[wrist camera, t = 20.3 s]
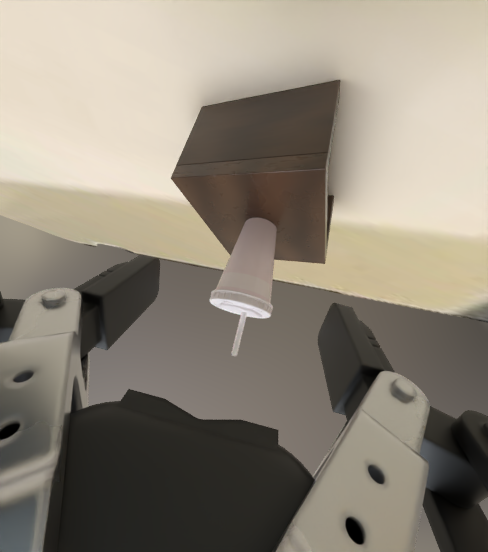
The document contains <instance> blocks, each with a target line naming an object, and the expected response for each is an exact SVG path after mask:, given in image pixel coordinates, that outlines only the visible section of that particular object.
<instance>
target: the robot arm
mask: <svg viewBox="0 0 488 552" xmlns="http://www.w3.org/2000/svg"><path fill="white" fill-rule="evenodd" d="M159 274H160V261H159V259H158V258H154V257H150V256H146V255H139V256H138V257H136V258H134V259H133V260H131V261H129V262H125V263H121V264H117V265H115V266H113V267H111V268H109V269H108V270H107V271H104V272H102V273H101V274H99V276H96V277H94V278H92V279H91V280H89V281H87V282H85V283H84V284H82V285H80V286H78V287H77V288H75V289H69V288H53V289H47V290H43V291H40V292H37V293H35V294H33V295H31V296H30V297H28V298H27V299H26V300H17V299H3V298H2V295H1V292H0V552H414V550H415V544H416V538H417V533H418V527H419V522H420V516H421V511H422V505H423V507H424V510H425V513H426V515H427V518H428V520H429V523H430V526H431V528H432V531H433V533H434V536H435V539H436V541H437V544H438V546H439V549H440V551H441V552H488V520H487V518H486V516H485V515H484V513H483V511H482V509H481V508H480V506H479V504H478V503H479V502H481V501H482V500H484V499H485V498H487V497H488V416H486V415H484V414H482V413H479V412H476V411H469V410H468V411H465V412H464V413H463V414H462V415H461V416H460V417H459V418H458V419H455V418H453V417H451V416H449V415H447V414H445V413H443V412H441V411H439V410H437V409H435V408H433V407H431V406H430V404H429V401H428V399H427V397H426V396H425V395H424V393H423V392H422V391H421V390H420V389H419V388H418V387H417V386H416V385H415V384H414V383H412V382H411V381H410V380H408V379H407V378H405V377H403V376H401V375H399V374H397V373H395V372H394V370H393V368H392V367H391V365H390V363H389V361H388V359H387V358H386V356H385V354H384V352H383V351H382V349H381V348H380V345H379V344H378V342H377V341H376V339H375V337H374V335H373V333H372V331H371V330H370V329H369V328H368V327H367V326H366V325H365V324H364V323H363V322H362V321H360V320H359V319H358V318H357V316H356V314H355V312H354V310H353V308H352V307H349V306H345V305H341V304H337V303H333V304H332V305H331V306H330V309H329V311H328V313H327V315H326V318H325V320H324V322H323V324H322V326H321V329H320V331H319V335H318V346H319V350H320V355H321V359H322V364H323V369H324V373H325V378H326V382H327V387H328V391H329V396H330V400H331V405H332V409H333V412H336V413H339V414H343V415H346V418H347V422H346V424H345V425H344V427H343V428H342V430H341V431H340V433H339V435H338V436H337V438H336V440H335V441H334V443H333V445H332V446H331V447H330V449H329V451H328V452H327V454H326V456H325V457H324V459H323V460H322V462H321V464H320V465H319V467H318V468H317V470H316V472H315V473H314V475H313V476H312V475H311V474H310V473H309V471H308V470H307V469H306V468H305V467H304V466H303V464H302V463H301V462H300V461H299V460H298V459H297V458H295V457H294V456H293V455H292V454H291V453H290V452H288V451H287V450H286V449H284V448H283V447H281V446H280V445H278V430H276V429H272V428H268V427H265V426H262V425H258V424H254V423H250V422H247V421H243V420H201V419H198V418H195V417H193V416H192V415H191V414H189V413H187V412H186V411H184V410H182V409H181V408H179V407H177V406H176V405H174V404H172V403H171V402H169V401H167V400H166V399H163V398H159V397H156V396H152V395H149V394H145V393H141V392H137V391H134V390H130V389H129V390H128V391H127V392H126V394H125V395H124V397H123V398H122V400H121V401H115V402H105V403H100V404H96V405H92V406H89V407H88V391H89V362H90V357H89V351H90V350H91V349H92V348H94V347H97V348H101V349H105V350H108V349H109V348H110V347H111V346H112V344H114V342H115V341H116V340H117V339H118V338H119V337H120V336H121V335H122V334H123V333H124V332H125V331H126V330H127V329H128V328H129V327H130V326H131V325H132V323H134V322H135V320H136V319H137V318H138V317H139V316H140V315H141V314H142V313H143V312H144V311H145V310H146V309H147V308H148V307H149V306H150V305H151V304H152V303H153V302H154V300H155V299H156V297H157V295H158V291H159Z"/></svg>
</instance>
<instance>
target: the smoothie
mask: <svg viewBox="0 0 488 552" xmlns="http://www.w3.org/2000/svg"><path fill="white" fill-rule="evenodd" d="M276 232H277V229H276V226H275V225H274V224H273V223H272V222H270V221H268V220H266V219H263V218H250V219H248V220H246V222H245V224H244V226H243V228H242V231H241V233H240V235H239V238H238V240H237V242H236V244H235V247H234V249H233V251H232V254H231V256H230V258H229V260H228V263H227V265H226V267H225V269H224V272H223V274H222V276H221V279H220V281H219V283H218V286H217V288H216V290H213V291H212V292H211V297H210V300H209V301H210V302H211V303H212V304H213V305H214V306H216V307H218V308H220V309H223V310H226V311H229V312H232V313H235V314H239V315H241V317H240V321H239V325H238V329H237V333H236V337H235V341H234V345H233V349H232V353H231V355H234V356H237V353H238V349H239V344H240V341H241V336H242V332H243V328H244V324H245V320H246V316H248V317H254V318H269V317H270V316H271V312H272V309H273V306H272V305H271V304H270V301H271V290H272V278H273V267H274V255H275V243H276Z"/></svg>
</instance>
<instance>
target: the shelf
mask: <svg viewBox="0 0 488 552" xmlns="http://www.w3.org/2000/svg"><path fill="white" fill-rule="evenodd" d="M339 91H340V80H338V81H333V82H328V83H323V84H318V85H312V86H307V87H302V88H297V89H292V90H287V91H282V92H277V93H272V94H266V95H261V96H256V97H251V98H246V99H241V100H236V101H231V102H226V103H220V104H215V105H210V106H205V107H202V108H201V110H200V113H199V115H198V117H197V119H196V122H195V124H194V126H193V129H192V131H191V133H190V135H189V138H188V140H187V142H186V144H185V147H184V149H183V151H182V154H181V156H180V158H179V160H178V163H177V165H176V168H175V170H174V172H173V174H172V177H171V179H172V180H173V182H174V183H175V184H176V186H177V187H178V188H179V189H180V191H181V192H182V193H183V195H184V196H185V197H186V199H187V200H188V201H189V202H190V204H191V205H192V206H193V208H194V209H195V210H196V211H197V213H198V214H199V215H200V217H201V218H202V219H203V221H204V222H205V223H206V224H207V226H208V227H209V228H210V230H211V231H212V232H213V233H214V235H215V236H216V237H217V239H218V240H219V241H220V242H221V244H222V245H223V246H224V248H225V249H226V250H227V252H228V253H229V254H230V255H231V254H232V251H233V249H234V247H235V244H236V242H237V240H238V238H239V235H240V233H241V231H242V228H243V226H244V224H245V222H246V220H248V219H250V218H263V219H266V220H268V221H270V222H272V223H273V224H274V225H275V226H276V229H277V232H276V243H275V255H274V259H275V260H287V261H299V262H310V263H322V264H325V261H326V253H327V246H328V239H329V232H330V225H331V217H332V210H333V203H334V196H327V195H328V166H329V160H330V153H331V147H332V141H333V134H334V128H335V122H336V115H337V109H338V103H339Z"/></svg>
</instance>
